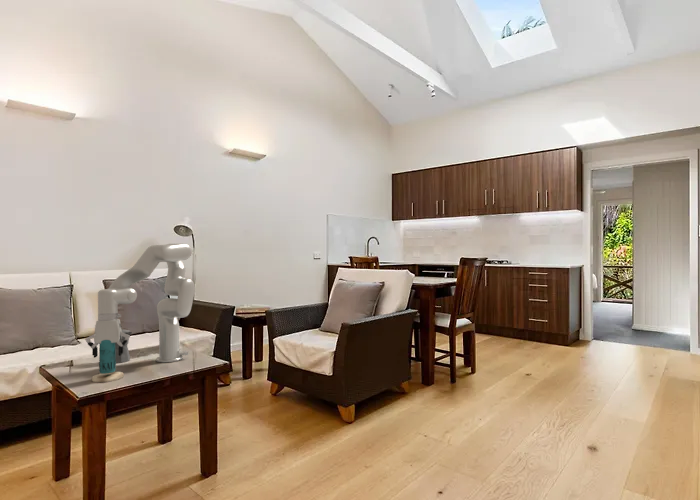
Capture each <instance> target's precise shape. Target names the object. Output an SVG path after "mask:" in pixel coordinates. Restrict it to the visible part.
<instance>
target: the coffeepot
mask: <svg viewBox="0 0 700 500" xmlns="http://www.w3.org/2000/svg"><path fill="white" fill-rule="evenodd" d="M121 331H122V333H125V334H127V335H130V336H131V335H132V334H133V331H131V330H130V329H122V325H121ZM124 340H125V337H123V336H122V339H121V341H122V342H123V341H124ZM129 341H130V338H129V339H128V341H127V342H126V343H125V344H124V345H123V353H122V355H121V356H119V345H118V344H117V343H115V353H116V364H121V363H127V362H130V360H131V356H130V352H129V347H128V344H129V343H130V342H129Z"/></svg>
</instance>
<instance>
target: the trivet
mask: <svg viewBox="0 0 700 500" xmlns="http://www.w3.org/2000/svg"><path fill="white" fill-rule="evenodd" d="M124 376H125V375H124V372H122V371H114V372H112V373H106V374H101V373H98V374H95V375H93V376H92V377H91V381H92V382H93V383H97V384H98V383H109V382H115V381H118V380H121V379H123V378H124Z"/></svg>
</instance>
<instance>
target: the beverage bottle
mask: <svg viewBox="0 0 700 500" xmlns="http://www.w3.org/2000/svg"><path fill="white" fill-rule="evenodd" d="M98 350H99V353H98V354H99V360H98V361H99V362H98V371H99V374H106V373H112V372H116V369H117V363H116V353H115V343H111V341H110V340H103V341H101V344H99V348H98Z"/></svg>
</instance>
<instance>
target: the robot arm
mask: <svg viewBox="0 0 700 500" xmlns="http://www.w3.org/2000/svg"><path fill="white" fill-rule="evenodd" d="M192 252H193V250H192V247H191V246H190V245H189V244H187V243H167V244H153V245H149V247H147V248H146V249H145V251H144V252H143V253H142V254H141V256H140V257H139V258H138V260H137V261H136V262H135V263H134V265H133V266H132V267H131V268H129V269H128V270H126V271H125V272H123V273H121V274H120V275H118V277H116V278H115V279H114V281H112V283H111V284H110V285H109V287H108V288H105V289H100V290H98V291H97V320H96V321H95V325H94V326H95V327H94V331H93V332H94V333H93V334H92V335H90V336H88V337H86V338H85V339H84V340H85V342H86V343H87V345H88V346H89V347H90V348H91V349H92V356H93V358H95V359H96V358H97V357H98V354H99V353H98V350H99V348H98V345H100V344H101V341H103V340H110V341H111V343H117V344H118V345H119V356H121V355H122V353H123V345H124V344H125V343H126V342H127V341H128V339H129V340H130V337H131V335H127V334H125V333H122V331H121V329H122V328H121V326H122V325H121V319H120V318H122V313H119V312H118V310H119V309H118V308H119V306H118V305H130V304H133V303H134V302H135V301H136V300H137V297H138V293H137V291H136V290H135V289H134V288H133V287H130V286H132V285H134V284H135V283H138V282H140V281H144V280H145V279H148V278H149V277H150V276H151V275H152V273H153V272H154V271H155V269H156V268H157V267H158V265H159V264H160V263H166V264H167V273H166V274H167V275H166V278H165V283H164V293H165V295H168V296H172V297H177V298H171V297H170V298H169V297H168V298H163V299H161V300H160V301H159V302H158V303H157V306H156V311H157V317H158V325H159V327H158V329H159V333H158V335H159V339H158V340H159V341H158V342H159V345H158V347H159V349H158V350H159V351H158V352H159V354H158V355H159V356H157V357H156V358H155V361H156V362H158V363H173V362H178V361H180V360H182V359H183V358H184V357H183V356H189V354H190V353H189V351H187V350H184V351H182V350H181V348H180V323H179V319H181V318H187V317H188V316H189V315H190V313H191V310H192V307H193V301H194V298H195V297H194V296H195V292H196V291H195V290H196V288H195V282H194V281H193V280H192V279H190V278H187V277H185V275H186V265H185V263H184V261H187V260H189V259H190V258H191V256H192V255H193V254H192ZM178 318H179V319H178ZM122 336H123V337H125V340H124V341H123V342H122V341H121V339H122ZM91 339H93V342H92V340H91Z"/></svg>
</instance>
